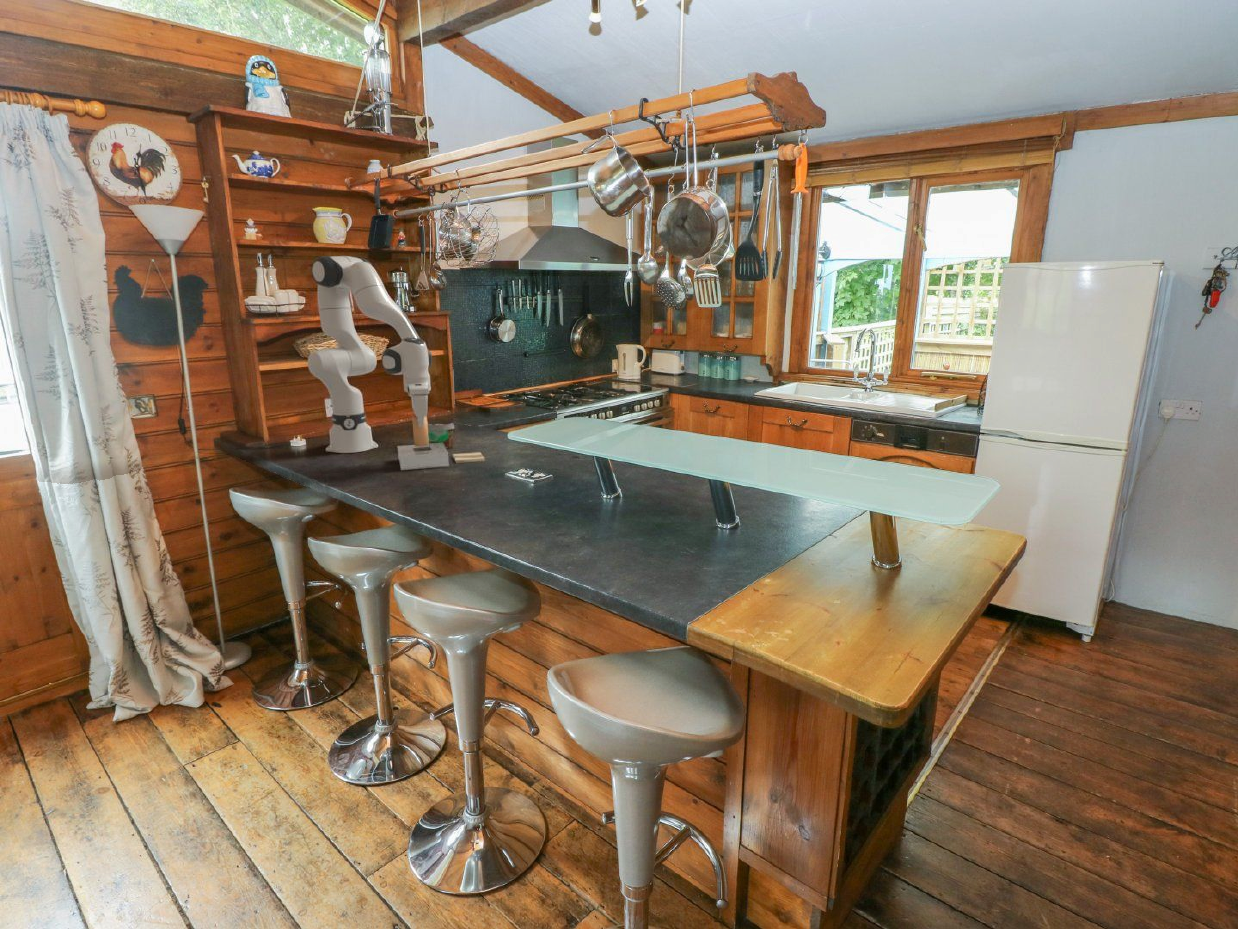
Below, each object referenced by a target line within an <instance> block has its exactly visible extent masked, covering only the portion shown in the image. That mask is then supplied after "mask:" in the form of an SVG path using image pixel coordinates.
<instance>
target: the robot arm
mask: <svg viewBox="0 0 1238 929" xmlns="http://www.w3.org/2000/svg"><path fill="white" fill-rule="evenodd" d="M311 274H312V278H313V279H314V281H315V283H316V284H317V306H318V315H319V319H320V325H321V329H322V332H323V333H324V335H326V336H328V337H330V338H333V340H334V341H335V342H336V343H337V346H338V347H328V348H321V349H318V350H315V351H312V352H311V353H310V354H309V356H308V357H307V358H308V359H307V367H308V368H307V369H308V370H309V372H310V374H312V376H313V377H315V378H317V379H318V380H319V381H321V382H322V383H323V385H324V386H325V387H326V389H327V391H328V393H329V397H330V401H331V408H332V414H331V420H332V421H331V422H332V426H331V427H330V429H329V433H328V434H329V443H330V444H329V445H328V446H327V447H325V452H331V453H339V454H350V453H359V452H366V451H370V450H373V449H375V448H376V449H377V448H379V445H378V444H379V443H377V442H375V441H374V440H373V435H372V428H371V426H370V425H369V424H367V422H366V421H367V415H366V411H365V409H364V399H363V398H364V397H363V393H362V392H361V390H360V389H359V388H358V387H355V386H353V385H351V384H350V383H349V381H348V377H354V376H355V377H356V376H362V375H365V374H369V373H372V372H374V370H375V369H376V367H377V362H378V361H377V359H378V358H377V355H376V353H375V352H374V351H373V349H372V348H371V347H369V346H368V345H366V344H365V343H364V342H363V341H362V339H361V338H360V337H359V335H358V333H357V331H356V328H355V324H354V319H353V313H352V306H351V302H350V301H351V300H350V293H351V294H352V296H353V298H354V301H355V303H356V306H357V308H358V310H360V312H361V313H362V314H363V315H365V316H366V317H368V318H370V319H373V320H377V321H379V322H383V323H385V324H387V325H389V326H391V327H392V328H393V329H394V330H396V332H397V334H398V336H399V337H400V339H401V341H400V343H398V344H397V345H394V346H391V347H389V348H386V349H384V350H383V352H382V353H381V359H380V361H381V366H382V369H383V370H384V371H385V373H387V374H389V375H391V376H392V375H395V376H398V375H403V377H402V378H403V391H404V392H405V393H407V394H408V397H410V399H411V407H412V410H413V412H414V416H415V415H416V417H417V419H418V427H423V426H424V423H423V422H424V417H425V416H427V415H428V398H429V397H428V395H429V394H430V391H431V390H432V387H431V375H430V373H429V369H430V368H431V365H432V363H433V356H432V353H431V351H430V350H429V348H428V347H427V344H426V342H425V341H424V340H423V339H422V338H421V337H420V336H419V335H418V333H417V331H416V329H415V327H414V326H413V324H412V322H411V321H410V319H409V317H408V315H407V314H406V312H405V311H404V309H402V307H401V306H400V305H398V304H397V303H396V302H395V301H394V300H393V299H392V297H391V296H390V295H389V294H388V291H387V290H386V287H385V285H384V282H383V281H382V279H381V277H380V275H379V274H378V272H377V271H376V269H375V267H374V266H373V265H372V263H371V262H370V261H369V260H367V259H366V258H363V257H359V256H357V257H354V256H348V255H340V256H338V255H334V256H332V255H331V256H329V255H324V256H319V257H316V258H315V259H314V260H313V262H312V265H311Z"/></svg>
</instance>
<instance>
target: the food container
mask: <svg viewBox="0 0 1238 929" xmlns="http://www.w3.org/2000/svg"><path fill="white" fill-rule="evenodd" d="M427 424H428V437H429V444H432V443H443V444H444V446H445V448H446V450H447V451H448V450H451V449H453V448H454V447H453V445H454V444H453V442H454V429H456V428H455V425H454V423H453V422H452V423H446V424H444V423H429V422H428V420H427Z"/></svg>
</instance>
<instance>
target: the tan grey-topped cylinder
mask: <svg viewBox="0 0 1238 929" xmlns="http://www.w3.org/2000/svg"><path fill="white" fill-rule="evenodd" d="M411 418H412V419H411V420H412V422H411V423H412V430H413V431H412V432H413V433H412V434H413V443H414V444H413V445H414V446H418V447H422V446H428V445H429V437H428V424H429V423H428V424H427V421H428V417H427V416H425V417H424V422H423V423H424V426H423V427H418V419H417V417H416V415H415V414H414V415H413V416H412V417H411Z"/></svg>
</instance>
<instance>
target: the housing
mask: <svg viewBox="0 0 1238 929" xmlns="http://www.w3.org/2000/svg"><path fill="white" fill-rule="evenodd" d="M397 455H398V462H399V466H400V471H408V470H409V471H410V470H419V469H430V468H431V469H432V468H433V469H434V468H443V467H449V466H450V464H449V460H450V459H449V451H448V449H447V450H446V448H445V446H444V444H443V443H432V444H429V445H428V446H422V447H418V446H414V444H410V445H409V444H408V445H397Z"/></svg>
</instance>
